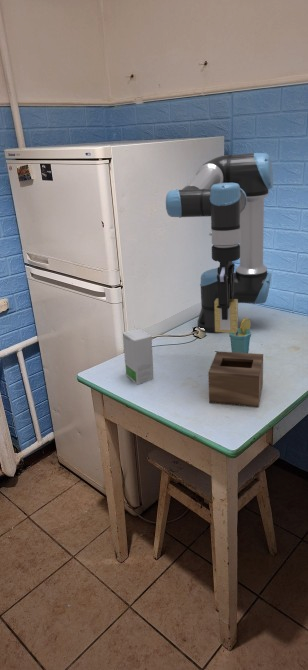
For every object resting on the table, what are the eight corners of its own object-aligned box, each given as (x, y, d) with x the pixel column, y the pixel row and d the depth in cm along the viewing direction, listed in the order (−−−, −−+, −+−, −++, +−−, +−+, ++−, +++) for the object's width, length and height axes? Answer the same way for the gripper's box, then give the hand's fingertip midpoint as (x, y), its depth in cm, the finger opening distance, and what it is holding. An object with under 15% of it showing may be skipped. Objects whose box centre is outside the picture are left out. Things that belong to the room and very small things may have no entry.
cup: (242, 372, 152) (242, 329, 146) (220, 368, 155) (219, 326, 150) (256, 355, 163) (257, 314, 157) (235, 351, 166) (235, 312, 161)
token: (217, 328, 136) (216, 298, 132) (237, 329, 134) (237, 299, 130) (215, 331, 133) (214, 301, 130) (236, 333, 131) (236, 302, 128)
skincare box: (125, 375, 156) (121, 332, 150) (143, 369, 159) (139, 327, 153) (137, 385, 149) (133, 340, 143) (155, 379, 152) (152, 334, 146)
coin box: (217, 380, 148) (216, 351, 144) (262, 383, 144) (263, 354, 140) (209, 402, 136) (208, 372, 132) (258, 407, 132) (259, 375, 128)
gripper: (217, 238, 132) (219, 316, 141) (205, 251, 118) (207, 337, 127) (244, 238, 130) (244, 317, 139) (234, 251, 116) (235, 338, 125)
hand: (226, 326), depth 133 cm, fingers closed on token, 3 cm apart
